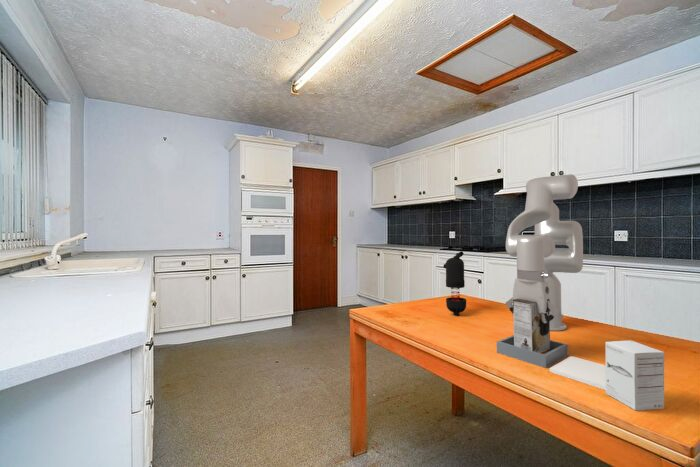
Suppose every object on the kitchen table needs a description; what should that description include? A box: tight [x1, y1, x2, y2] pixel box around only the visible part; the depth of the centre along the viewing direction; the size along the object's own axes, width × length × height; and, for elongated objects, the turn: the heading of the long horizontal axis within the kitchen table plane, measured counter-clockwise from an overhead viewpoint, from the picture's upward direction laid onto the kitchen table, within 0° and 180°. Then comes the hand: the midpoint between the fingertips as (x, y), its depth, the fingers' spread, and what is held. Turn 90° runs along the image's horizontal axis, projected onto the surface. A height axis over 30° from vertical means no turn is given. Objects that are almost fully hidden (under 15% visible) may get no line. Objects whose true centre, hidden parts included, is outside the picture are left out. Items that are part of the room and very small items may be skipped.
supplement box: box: [605, 340, 665, 411], centre depth 72 cm, size 7×7×13 cm
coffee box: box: [512, 299, 551, 353], centre depth 100 cm, size 9×6×16 cm
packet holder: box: [496, 334, 569, 369], centre depth 99 cm, size 15×15×4 cm
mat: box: [549, 355, 606, 391], centre depth 85 cm, size 14×14×1 cm
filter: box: [443, 250, 467, 317], centre depth 147 cm, size 14×9×30 cm
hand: (531, 331), depth 100 cm, fingers closed on coffee box, 6 cm apart
